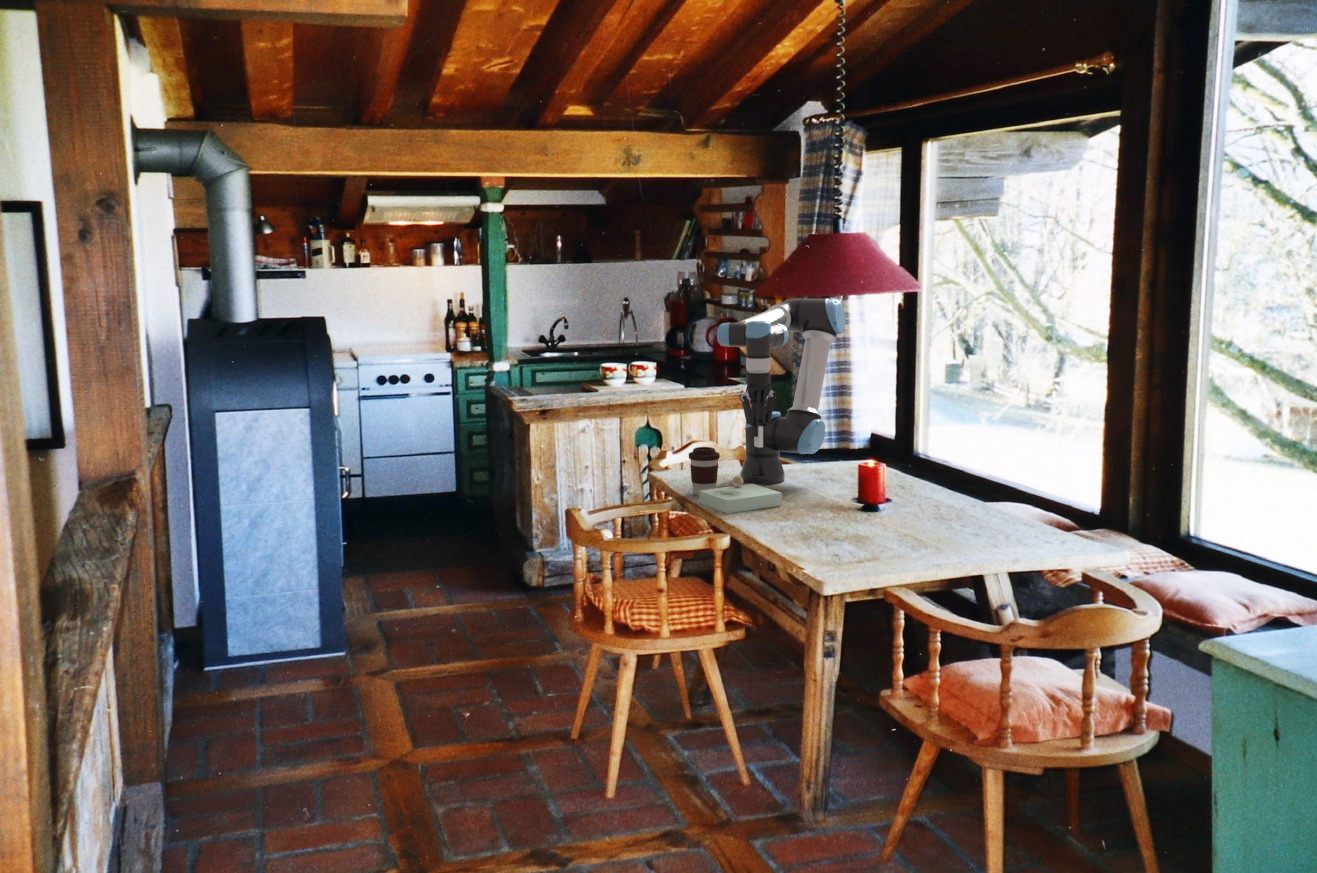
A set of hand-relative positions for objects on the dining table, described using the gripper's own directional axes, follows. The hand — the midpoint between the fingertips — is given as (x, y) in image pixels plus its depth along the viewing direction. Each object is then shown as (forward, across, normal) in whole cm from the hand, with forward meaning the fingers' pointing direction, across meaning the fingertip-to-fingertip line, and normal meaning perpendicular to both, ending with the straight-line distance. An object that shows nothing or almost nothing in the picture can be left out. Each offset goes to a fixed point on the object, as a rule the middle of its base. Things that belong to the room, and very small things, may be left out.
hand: (758, 446), depth 355 cm
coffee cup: (+18, +9, -17) cm, 27 cm away
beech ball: (+12, +4, -6) cm, 14 cm away
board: (+17, +7, +1) cm, 19 cm away
